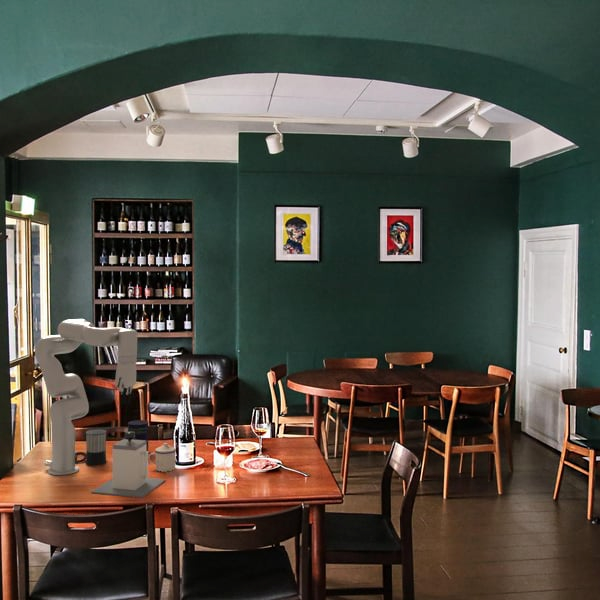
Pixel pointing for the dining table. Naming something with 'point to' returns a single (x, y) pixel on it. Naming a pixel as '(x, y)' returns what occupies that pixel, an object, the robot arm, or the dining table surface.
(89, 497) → the dining table surface
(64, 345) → the robot arm
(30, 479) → the dining table surface
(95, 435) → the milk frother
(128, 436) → the plunger
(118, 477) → the box
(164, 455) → the teacup with lid
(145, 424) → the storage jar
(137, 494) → the slate mat
